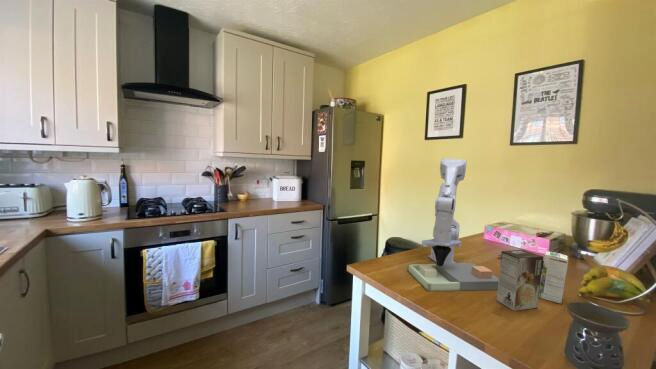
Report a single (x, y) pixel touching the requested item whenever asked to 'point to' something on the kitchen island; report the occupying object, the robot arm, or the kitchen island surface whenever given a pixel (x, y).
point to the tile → (427, 271)
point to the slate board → (466, 276)
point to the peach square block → (481, 272)
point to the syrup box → (553, 277)
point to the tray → (432, 279)
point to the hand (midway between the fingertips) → (439, 265)
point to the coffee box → (519, 279)
